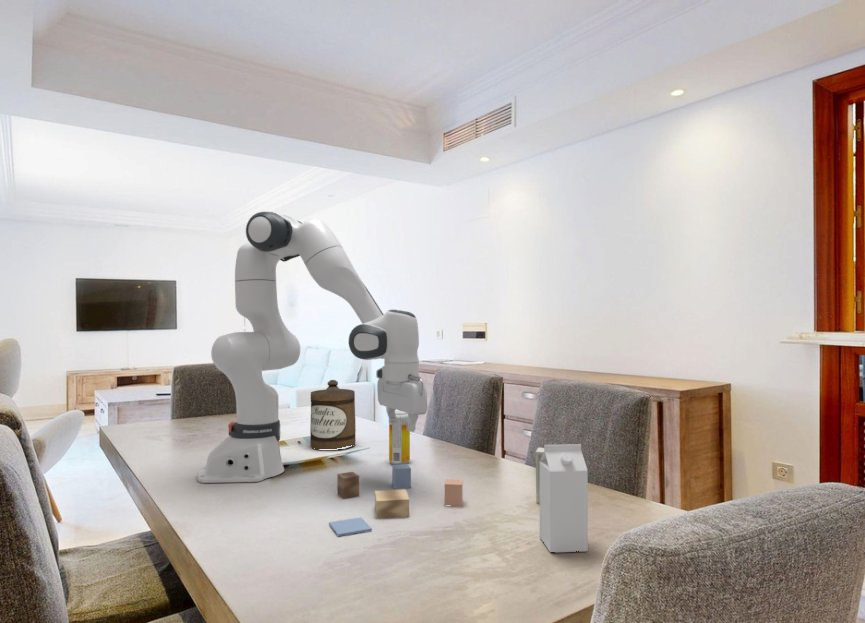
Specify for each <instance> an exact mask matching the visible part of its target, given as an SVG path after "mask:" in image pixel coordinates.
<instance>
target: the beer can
mask: <svg viewBox="0 0 865 623" xmlns="http://www.w3.org/2000/svg"><path fill="white" fill-rule="evenodd" d="M395 415H396V418H397V424H396V425H391V424H389V423H388V427H389V428H388V461H389V462H390V464H391V465H402V464H408V465H409V462H410V460H411V446H410V445H411V443H410V440H411V438H410V436H411V434H410V433H411V431H408V430H407V429H406V428H407V426H406V423H408V421H409V417H408V413H406V412H403V411H399V410H395Z"/></svg>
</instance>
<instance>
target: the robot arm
mask: <svg viewBox="0 0 865 623" xmlns="http://www.w3.org/2000/svg"><path fill="white" fill-rule="evenodd" d="M245 235H246V236H245V237H246V238H247V241H248V242H247V243H244V244H242V245H241V246H240V247H239V248H238V250H237V253H236V258H235V264H234V265H235V267H234V294H235V296H234V299H235V303H234V304H235V308H236V311H237V312H238V314H239V315H241V316H242V317H244V318H245V319H247V320H248V321H249V322H250V324H251V327H252V330H253V331H243V332H242V331H241V332H240V331H239V332H238V331H237V332H236V331H234V332H232V333H227V334H223V335H220V336H218V337H217V338H216V339H215V340H214V342H213V345H212V347H211V352H210V353H211V354H210V356H211V360H212V363H213V365H214V366H215V368H216V369H217V370H218V371H220V372H222V373H223V374H224V375H225V376H226V377H227V379H228V380H229V381H230V383H231V385H232V388H233V391H234V394H235V402H236V403H235V404H236V405H235V407H236V421H230V422H229V423H228V437H226V439H224V440H223V441H221V443H219V444H217V445H216V446H215V447H214V448H213V449H212V450H211V451H210V452H209V454H208V457H207V460H206V465H205V467H203V468H200V470H198V472H197V478H196V480H197V481H198V482H199V483H200V484H201V483H203V484H209V483H210V484H215V483H217V484H218V483H256V482H261V481H263V480H265V479H268V478H269V479H270V478H271V477H272V478H273V477H276V476H279V475H281V474H282V473H283V472H284V471H285V467H284V464H283V460H282V455H281V447H280V440H281V421H280V420H279V394H278V391H277V390H276V389H275V388H274V387H272V386H271V385H270V384H266V382H265V380H264V377H263V371H274V370H275V371H276V370H277V371H278V370H282V369H285V368H287V367H291V366H294V365H295V364H296V363H297V361H298V360H299V358H300V355H301V345H300V342H299V339H298V338H297V337H296V335H294V334H293V332H291V331H290V330H289V329H288V327H287V326H286V324H285V323H284V321H283V318H282V316H281V314H280V309H279V303H278V293H277V292H278V290H277V288H278V287H277V264H278V263H279V262H280V261H282V262H284V263H285V262H288V261H290V260H292V259H295V258H299V257H300V258H301V260H302V261H303V263H304V265H305V267H306V269H307V271H308V273H309V276H310V277H311V278H312V279H313V280H314V282H316V284H317V285H318V287H320V288H322V289H323V290H326V291H328V292H330V293H333V294H335V295H337V296H339V298H342V299H343V300H345V301H346V302H347V303H348V304H349V305H350V307H351V308H352V310H353V311H354V313H355V314H356V316H357V317H358V319H359V320H360V322H361V324H358V325H356V326H354V327H353V329H352V330H351V331H350V333H349V335H348V336H349V337H348V347H349V351H350V352H351V353H352V354H353V356H354V357H356V358H358V359H360V360H364V361H370V360H371V361H372V360H379V359H381V360H382V359H383V361H384V363H383V364H384V365H383V366H382V367H380V368H378V369H377V370H376V372H375V375H376V376H375V377H376V378H377V379H378V380H377V385H376V386H377V387H376V389H377V401H378V403H379V405H380V406H383V407H385V409H386V415H387V417H388V425H389V424H391V425H396V424H397V418H396V415H395V411H403V412H406V413H408V417H409V421H408V423H406V426H407V428H406V429H407V430H408V431H410V432H414V431H416V424H417V421H418V418H419V416H420V415H427V412H428V395H427V388H426V385H425V384H424V381H423V380H422V378H421V376H420V359H419V355H418V349H419V344H420V341H419V340H420V339H419V338H420V337H419V335H420V334H419V333H420V332H419V325H418V320H417V316H416V315H415V314H414V313H412V312H410V311H405V310H402V309H400V310H399V309H388V310H387V311H386V312H385V313H383V312H382V310H381V308H380V306H379V305H378V303H377V301H375V299H374V297H373V296H372V294H371V292H370V291H369V289H368V288H367V287H366V285H365V284H364V282H363V281H362V279H361V278H360V276H359V274H358V272H357V271H356V269H355V267H354V266H353V264H352V262H351V260H350V258H349V257H348V255H347V252H346V251H345V249H344V248H343V246H342V244H341V243H340V241H339V239H338V238H337V236H336V235H335V233H334V231H333V230H332V229H331V228H330V227H329V226H328V225H327V223H326V222H325V221H323V220H321V219H319V218H311V219H308V220H306V221H303V222H301V221H300V220H296V219H295V218H292V217H290V216H288V215H283V214H279V213H276V212H273V211H261V212H260V211H259V212H256V213H254V214H253V215H252V216H251V217H250V218H249V219H248V221H247V223H246V227H245Z"/></svg>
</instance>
